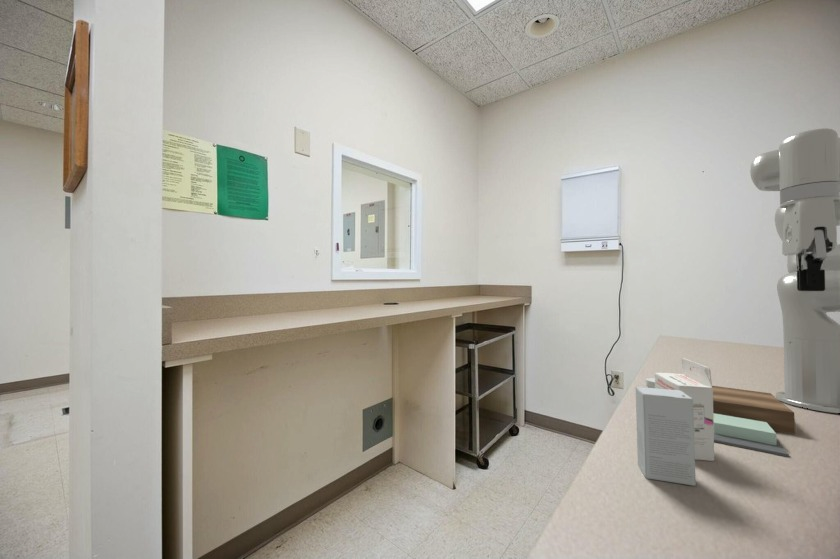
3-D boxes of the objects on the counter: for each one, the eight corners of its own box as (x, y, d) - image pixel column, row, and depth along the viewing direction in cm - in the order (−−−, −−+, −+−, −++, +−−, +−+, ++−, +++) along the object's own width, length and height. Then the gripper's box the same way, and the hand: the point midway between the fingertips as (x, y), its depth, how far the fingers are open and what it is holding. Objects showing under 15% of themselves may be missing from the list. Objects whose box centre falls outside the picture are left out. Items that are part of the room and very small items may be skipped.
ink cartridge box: (653, 435, 61) (652, 355, 61) (684, 438, 60) (683, 356, 60) (680, 459, 52) (678, 366, 53) (716, 462, 51) (714, 367, 52)
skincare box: (683, 471, 49) (681, 389, 49) (696, 487, 45) (695, 398, 45) (635, 463, 51) (634, 385, 51) (644, 478, 47) (643, 393, 47)
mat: (680, 415, 70) (680, 413, 70) (766, 430, 63) (766, 428, 63) (686, 436, 61) (686, 434, 61) (789, 457, 53) (789, 454, 53)
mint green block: (714, 422, 61) (714, 433, 61) (776, 433, 56) (776, 445, 56) (709, 412, 66) (709, 422, 66) (766, 422, 61) (766, 433, 61)
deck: (679, 397, 82) (679, 381, 82) (770, 411, 73) (770, 393, 73) (685, 415, 71) (685, 396, 71) (794, 434, 62) (794, 412, 62)
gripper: (769, 207, 72) (771, 290, 72) (793, 190, 60) (796, 291, 60) (821, 202, 68) (823, 290, 68) (858, 183, 56) (861, 291, 56)
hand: (810, 290), depth 64 cm, fingers closed
